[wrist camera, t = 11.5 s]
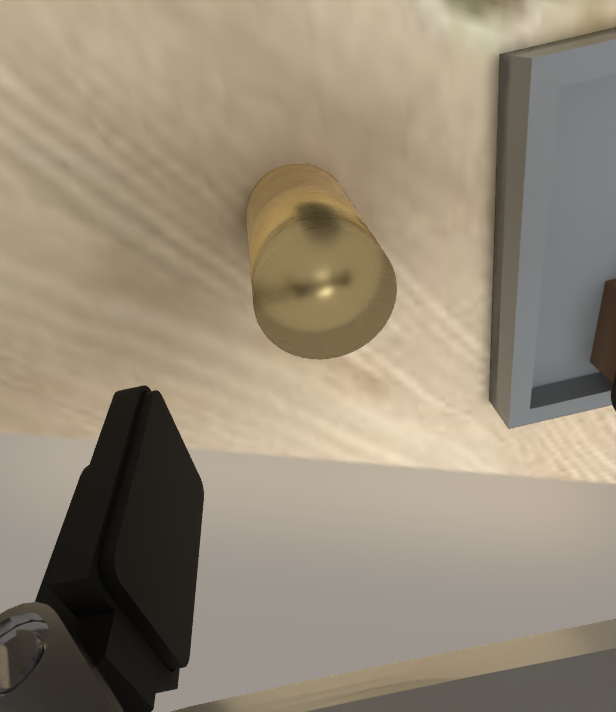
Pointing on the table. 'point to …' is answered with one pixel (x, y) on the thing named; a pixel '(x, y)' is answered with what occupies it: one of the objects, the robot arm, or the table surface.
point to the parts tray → (553, 226)
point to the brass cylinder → (315, 265)
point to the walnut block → (606, 333)
